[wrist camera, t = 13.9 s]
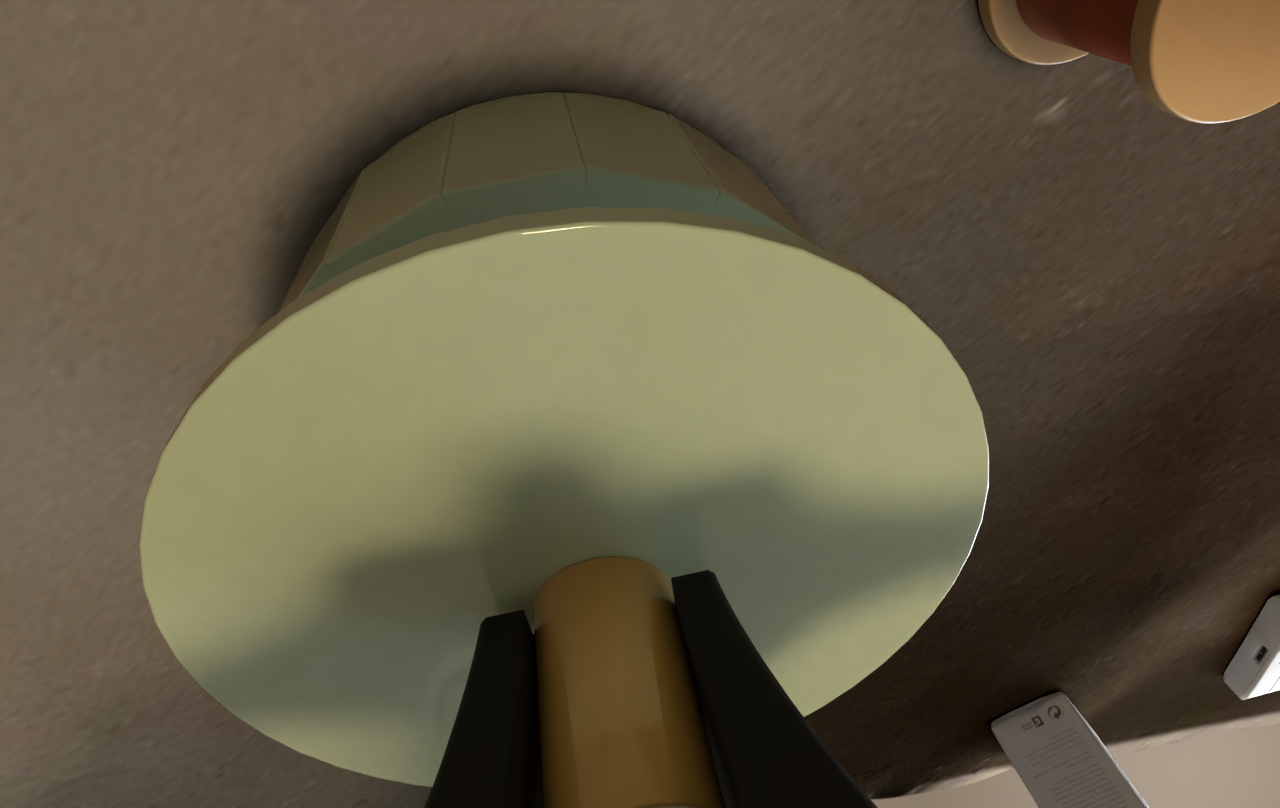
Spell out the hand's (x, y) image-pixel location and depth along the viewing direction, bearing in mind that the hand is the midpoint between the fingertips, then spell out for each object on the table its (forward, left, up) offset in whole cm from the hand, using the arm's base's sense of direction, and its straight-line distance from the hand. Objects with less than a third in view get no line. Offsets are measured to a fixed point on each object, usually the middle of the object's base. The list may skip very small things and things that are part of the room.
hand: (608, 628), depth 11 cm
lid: (0, 0, -1) cm, 1 cm away
